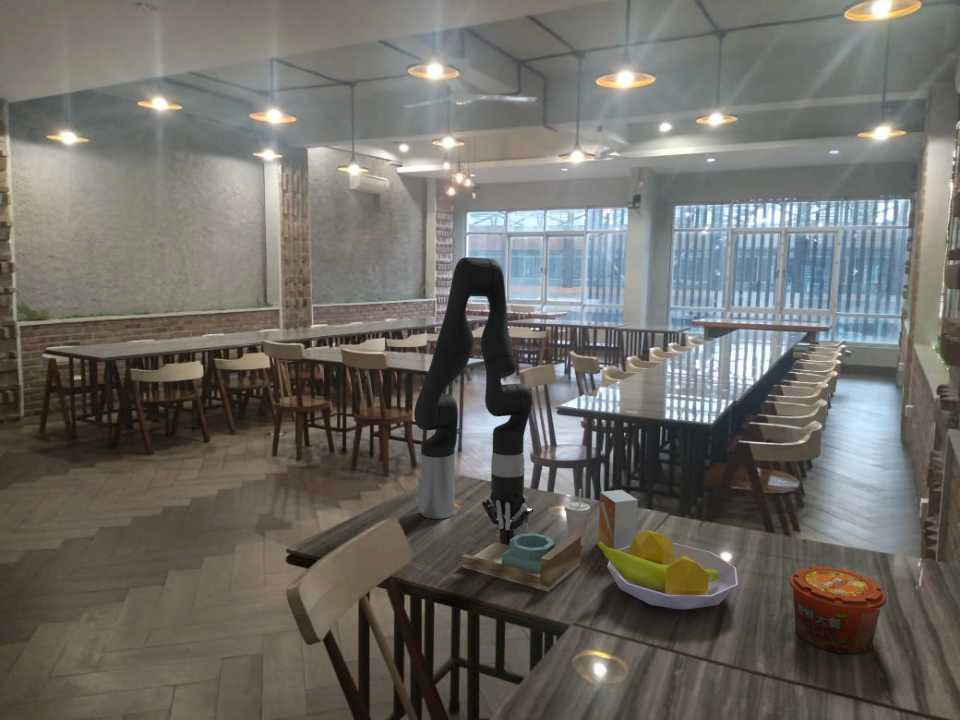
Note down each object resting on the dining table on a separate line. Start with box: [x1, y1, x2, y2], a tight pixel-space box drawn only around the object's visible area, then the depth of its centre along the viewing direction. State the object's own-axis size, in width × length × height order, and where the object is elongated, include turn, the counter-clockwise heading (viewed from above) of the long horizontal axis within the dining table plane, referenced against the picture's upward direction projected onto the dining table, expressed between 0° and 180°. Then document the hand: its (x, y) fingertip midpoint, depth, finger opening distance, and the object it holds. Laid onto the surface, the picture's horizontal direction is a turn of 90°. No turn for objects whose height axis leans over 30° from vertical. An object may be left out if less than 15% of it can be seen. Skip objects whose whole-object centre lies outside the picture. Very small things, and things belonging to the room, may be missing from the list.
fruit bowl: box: [596, 529, 739, 611], centre depth 147 cm, size 28×27×11 cm
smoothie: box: [563, 488, 591, 547], centre depth 173 cm, size 6×6×14 cm
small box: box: [597, 489, 639, 550], centre depth 171 cm, size 8×6×13 cm
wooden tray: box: [461, 533, 582, 593], centre depth 160 cm, size 22×16×7 cm
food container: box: [788, 565, 887, 655], centre depth 130 cm, size 16×16×11 cm
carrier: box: [502, 532, 556, 574], centre depth 159 cm, size 10×10×5 cm
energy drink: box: [514, 492, 529, 537], centre depth 174 cm, size 5×5×12 cm
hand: (506, 543), depth 162 cm, fingers closed
